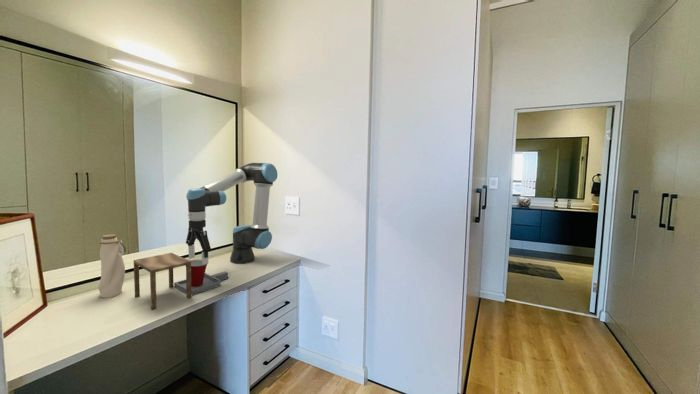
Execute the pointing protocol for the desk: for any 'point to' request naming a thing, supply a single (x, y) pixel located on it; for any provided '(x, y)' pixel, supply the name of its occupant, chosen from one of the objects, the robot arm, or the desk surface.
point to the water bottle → (111, 266)
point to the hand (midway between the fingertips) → (198, 260)
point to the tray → (208, 283)
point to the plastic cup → (197, 272)
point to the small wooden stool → (161, 264)
